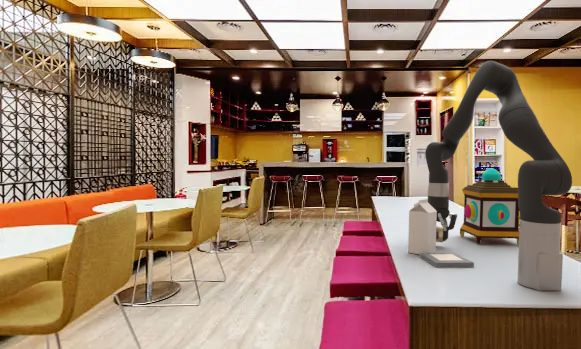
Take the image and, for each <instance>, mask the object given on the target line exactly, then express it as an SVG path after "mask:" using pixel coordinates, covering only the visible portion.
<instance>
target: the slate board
mask: <svg viewBox="0 0 581 349" xmlns="http://www.w3.org/2000/svg"><path fill="white" fill-rule="evenodd" d="M419 256H420V258H421V259H422V260H424V261H426V262H427V263H428V264H430V265H432V266H433V267H434V268H475V262H473V261H472V260H470V259H468V258H466V257H464V256H462V255H460V254H458V253H456V252H435V253H421V255H419Z"/></svg>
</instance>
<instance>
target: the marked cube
mask: <svg viewBox="0 0 581 349" xmlns="http://www.w3.org/2000/svg"><path fill="white" fill-rule="evenodd" d="M443 231H444V230H443V227H442V226H437V225H436V243H441V244H442V243H444V242H445V241H443Z"/></svg>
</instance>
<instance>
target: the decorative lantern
mask: <svg viewBox="0 0 581 349" xmlns="http://www.w3.org/2000/svg"><path fill="white" fill-rule="evenodd" d="M461 191H462V193H463V196H464V198H463V199H464V203H463V206H464V207H463V208H464V209H463V223H462V224H461V227H460V229H459V235H460V237H464V235H465V233H466V234H468V235H471V236H473V237H475V239H476V244H477V245H479V246H480V245H481V243H482V240H483V239H516V244H517V246H519V226H520V212H519V208H518V187H514V186H513V187H512V186H511V185H509V184H508V183H507V182H505V180H504V179H503V180H502V176H501V173H500V172H499V171H498V170H497V169H495V168H493V167H492V168H487V169H486V170H485V171H484V172H483V173H482V176H481V179H479V180H478V181H475V182H474V183H472V184H467V186H465V187H463V188H462V189H461Z"/></svg>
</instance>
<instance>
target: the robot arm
mask: <svg viewBox="0 0 581 349" xmlns="http://www.w3.org/2000/svg"><path fill="white" fill-rule="evenodd" d="M468 84H469V85H468V87H467V89H466V91H465V92H464V94H463V96H462V99H461V101H460V103H459V105H458V107H457V108H456V110H455V111H454V113H453V115H452V116H451V118H450V119H449V121H448V122H447V123H446V125H445V127H444V128H443V130H442V131H441V136H442V137H443V139H442V141H441V142H440V141H432V142H430V143H429V144H428V145H427V146H426V148H425V152H424V156H425V161H426V165H427V169H428V186H427V187H428V188H427V199H428V203H429V204H430V205H431V206H432V207H433V208H434V209H435V210H436V211H437V220H436V222H439V223H440V225H441V227H443V230H444V231H443V241H444V242H446V241H447V240H448V239H449V231H451V230H454V228H455V225H456V223H457V218H458V214H457V213H451V211H450V210H449V206H450V205H449V204H450V202H449V201H450V186H449V184H450V183H449V182H450V180H449V177H450V171H449V169H448V168H446V167H445V166H444V164H443V162H446V161H448V160H450V159H452V157H453V156H454V154H455V153H456V152H457V149H458V146H459V143H460V141H461V140H462V138H463V137H464V136H465V134H466V133H467V132H468V130H469V129H470V127H471V126H472V123H473V120H474V115H475V106H476V103H477V100H478V99H479V96H480V95H481V94H482V93H483V91H486V92H489V93H492V94H493V95H495V96H496V97H497V98H498V100H499V102H500V104H501V107H500V109H499V112H498V117H497V118H498V119H497V120H498V123H499V125H500V128H501V130H502V132H503V134H504V136H505V138H506V139H507V140H508V141H509V142H511V143H512V145H514V146H515V147H517V148H518V149H520V150H521V151H523V152H524V153H525V154H527V155H528V156H529V157H531V158H532V160H530V159H529V160H526V161H524V162H523V163H522V164H521V165H520V167H519V169H518V172H517V189H518V208H519V225H518V229H519V245H518V256H517V258H518V259H517V283H518V284H520V285H521V286H524V287H525V288H529V289H533V290H534V289H535V290H536V291H539V292H540V291H542V292H543V291H562V287H563V286H562V282H563V281H562V280H563V259H564V256H563V253H561V240H562V239H561V237H562V235H561V234H562V218H563V217H562V213H561V211H560V210H557V209H554V208H551V207H550V206H548V205H546V204H545V203H544V200H543V196H563V195H565V194H567V193H569V191H570V190H571V189H572V186H573V177H572V172H571V170H570V168H569V166H568V164H567V162H565V159H564V158H563V157H562V156H561V155H560V153H559V152H558V151H557V149H556V148H555V147H554V146H553V144H552V142H551V141H550V139H549V138H548V135H547V134H546V132H545V131H544V129H543V128H542V126H541V124H540V121H539V120H538V118H537V116H536V114H535V112H534V110H533V109H532V107H531V105H530V104H529V102H528V100H527V98H526V97H525V95H524V93H523V91H522V89H521V86H520V83H519V80H518V77H517V75H516V72H515V71H514V70H513V69H512V68H511V67H509V66H508V65H504V64H502V63H499V62H497V61H494V60H487V61H485V62H483V63H482V64H481V65H480V66H479V67H478V69H477V70H476V72H475V74H474V75H473V77H472V78H471V81H470V83H468ZM448 217H449V219H450V221H449V224H448V220H447V218H448Z"/></svg>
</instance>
